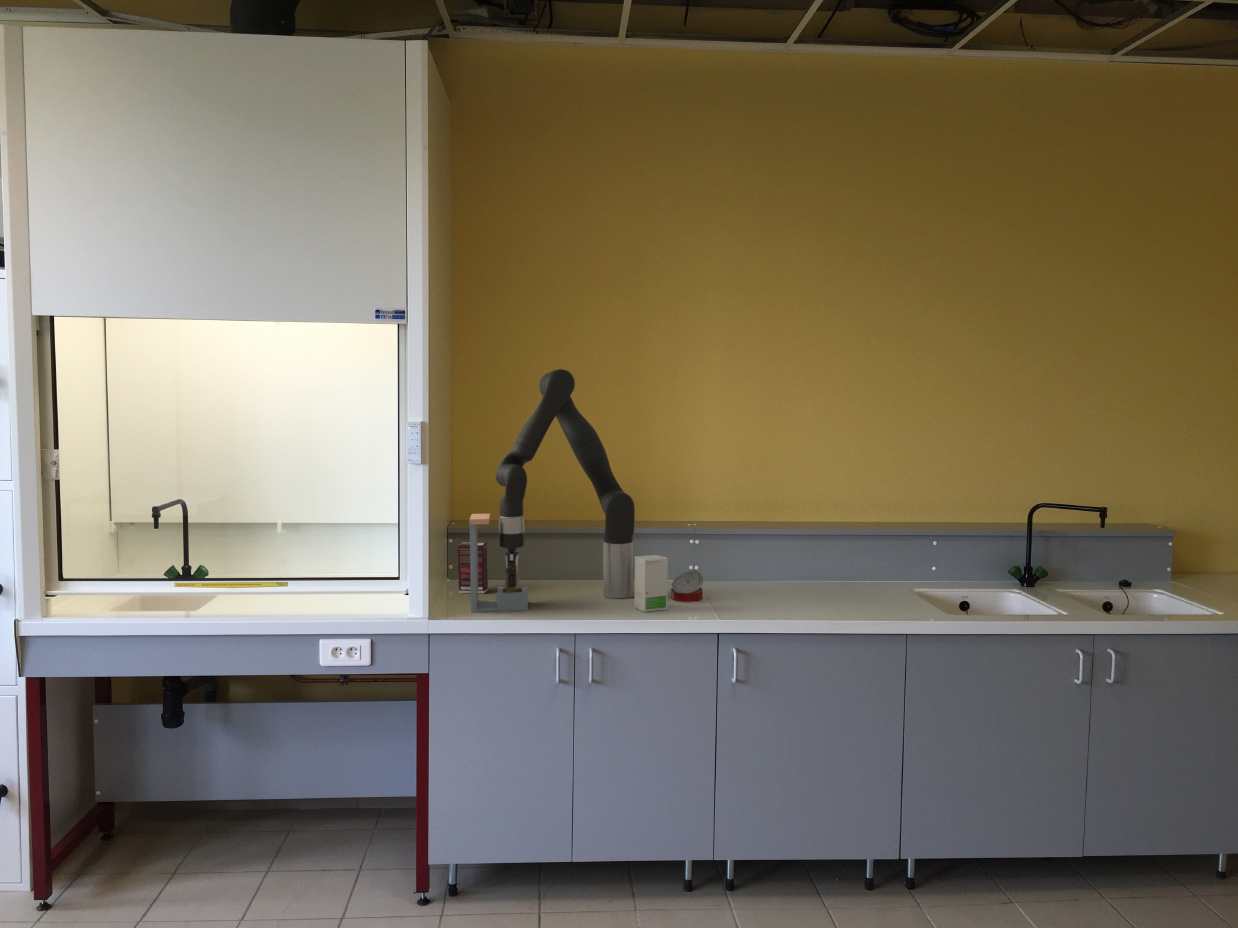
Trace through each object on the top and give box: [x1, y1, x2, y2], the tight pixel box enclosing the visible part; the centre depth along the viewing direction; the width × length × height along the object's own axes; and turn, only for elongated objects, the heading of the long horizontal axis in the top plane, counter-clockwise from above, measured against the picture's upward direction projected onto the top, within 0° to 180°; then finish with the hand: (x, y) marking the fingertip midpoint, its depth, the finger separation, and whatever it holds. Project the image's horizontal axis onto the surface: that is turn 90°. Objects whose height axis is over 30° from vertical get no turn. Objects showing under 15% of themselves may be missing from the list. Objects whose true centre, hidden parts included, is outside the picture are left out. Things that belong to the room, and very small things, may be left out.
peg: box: [504, 566, 520, 592], centre depth 247 cm, size 4×4×12 cm
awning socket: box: [468, 513, 529, 613], centre depth 246 cm, size 16×11×28 cm, turn 96°
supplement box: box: [457, 541, 489, 594], centre depth 265 cm, size 9×5×16 cm, turn 84°
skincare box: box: [634, 554, 669, 613], centre depth 244 cm, size 8×7×16 cm
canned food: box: [670, 569, 704, 603], centre depth 257 cm, size 11×10×10 cm
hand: (512, 583), depth 247 cm, fingers open, 8 cm apart
